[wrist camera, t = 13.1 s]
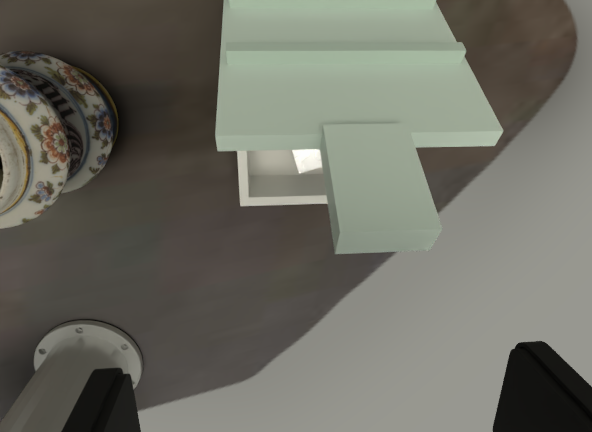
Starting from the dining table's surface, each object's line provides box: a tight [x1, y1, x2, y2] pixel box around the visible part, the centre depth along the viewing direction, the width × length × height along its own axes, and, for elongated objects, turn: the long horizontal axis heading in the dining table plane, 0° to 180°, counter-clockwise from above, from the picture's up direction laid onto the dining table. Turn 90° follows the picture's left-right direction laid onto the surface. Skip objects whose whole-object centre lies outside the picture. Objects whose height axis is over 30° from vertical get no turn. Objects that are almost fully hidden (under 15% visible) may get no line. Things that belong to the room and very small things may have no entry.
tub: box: [237, 150, 328, 206], centre depth 38 cm, size 18×14×8 cm
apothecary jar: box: [0, 51, 118, 228], centre depth 33 cm, size 12×12×18 cm
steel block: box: [292, 149, 322, 173], centre depth 41 cm, size 4×4×4 cm
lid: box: [215, 0, 503, 254], centre depth 23 cm, size 24×14×2 cm
